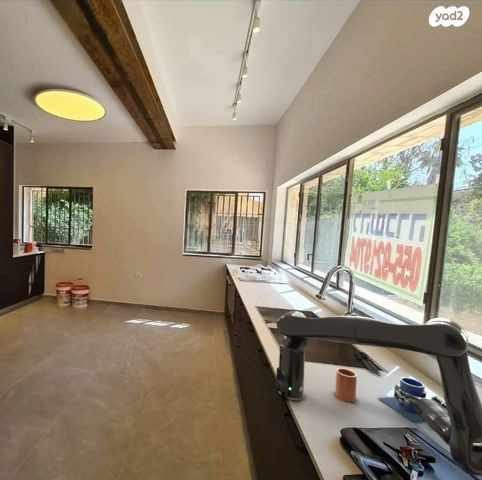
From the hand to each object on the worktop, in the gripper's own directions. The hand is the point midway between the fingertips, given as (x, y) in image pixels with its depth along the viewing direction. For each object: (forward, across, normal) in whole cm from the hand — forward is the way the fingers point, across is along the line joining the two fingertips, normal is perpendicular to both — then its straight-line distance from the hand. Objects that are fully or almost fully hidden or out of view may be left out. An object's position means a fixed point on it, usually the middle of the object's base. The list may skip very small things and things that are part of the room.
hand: (408, 389), depth 103 cm
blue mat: (-2, 0, +6) cm, 7 cm away
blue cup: (-2, 0, +6) cm, 6 cm away
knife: (+34, 0, +7) cm, 35 cm away
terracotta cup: (-2, +21, +6) cm, 22 cm away
